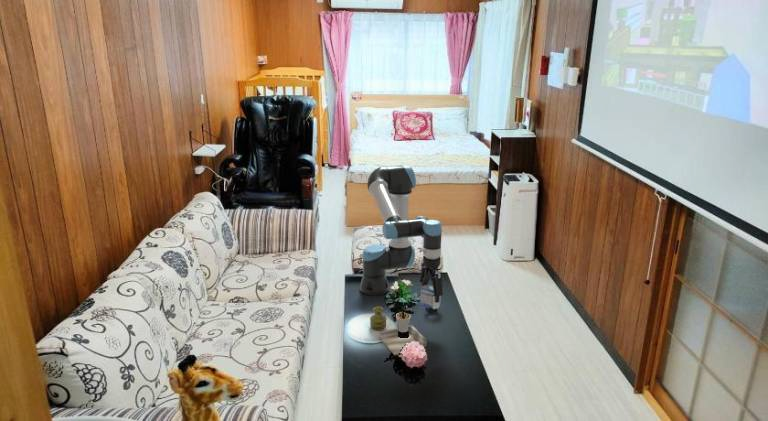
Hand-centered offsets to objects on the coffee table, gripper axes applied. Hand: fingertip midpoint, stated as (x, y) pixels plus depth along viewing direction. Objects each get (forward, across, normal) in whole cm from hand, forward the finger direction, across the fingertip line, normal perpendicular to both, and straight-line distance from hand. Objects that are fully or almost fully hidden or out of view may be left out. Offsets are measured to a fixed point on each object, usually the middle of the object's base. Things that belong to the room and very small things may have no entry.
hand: (430, 303), depth 231 cm
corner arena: (+13, +6, -16) cm, 21 cm away
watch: (+13, -16, +10) cm, 23 cm away
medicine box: (+1, 0, 0) cm, 1 cm away
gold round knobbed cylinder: (+13, -12, -20) cm, 27 cm away
